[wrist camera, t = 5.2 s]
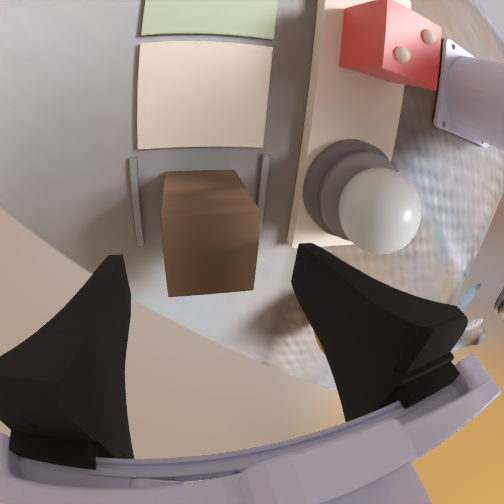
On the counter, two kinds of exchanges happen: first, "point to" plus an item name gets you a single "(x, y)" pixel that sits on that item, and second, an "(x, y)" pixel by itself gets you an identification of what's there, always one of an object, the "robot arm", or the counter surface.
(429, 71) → the die
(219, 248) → the brown block
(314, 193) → the game board
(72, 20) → the counter surface
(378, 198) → the dome
